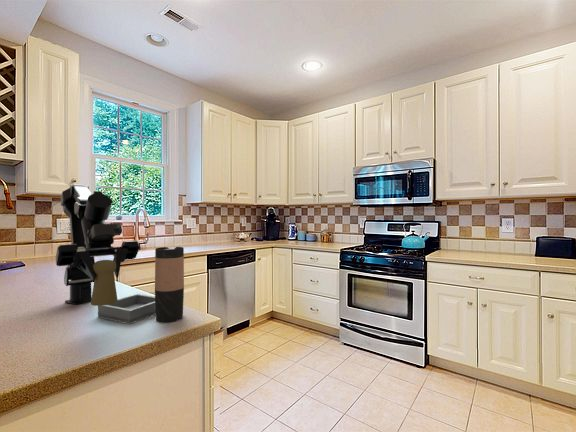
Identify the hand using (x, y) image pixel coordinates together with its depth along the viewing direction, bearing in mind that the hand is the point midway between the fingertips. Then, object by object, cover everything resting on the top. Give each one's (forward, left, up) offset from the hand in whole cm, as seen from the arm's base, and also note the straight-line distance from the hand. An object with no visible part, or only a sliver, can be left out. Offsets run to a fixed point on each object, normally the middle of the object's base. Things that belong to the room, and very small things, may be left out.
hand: (106, 277), depth 75 cm
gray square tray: (-3, +11, -13) cm, 17 cm away
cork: (-1, 0, -7) cm, 7 cm away
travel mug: (+10, +12, -13) cm, 20 cm away
